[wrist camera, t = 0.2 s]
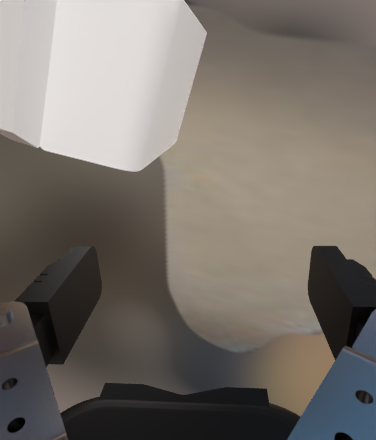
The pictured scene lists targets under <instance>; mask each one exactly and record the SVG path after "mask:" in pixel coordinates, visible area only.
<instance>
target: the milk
mask: <svg viewBox="0 0 376 440" xmlns="http://www.w3.org/2000/svg"><path fill="white" fill-rule="evenodd" d="M206 34H207V32H206V31H205V29H204V28H203V27H202V25H201V24H200V22H199V21H198V19H197V18H196V17H195V15H194V14H193V12H192V11H191V9H190V8H189V7H188V5H187V4H186V2H185V1H184V0H0V134H1V135H3V136H5V137H7V138H9V139H11V140H13V141H17V142H20V143H23V144H26V145H29V146H32V147H36V148H39V147H41V148H42V149H43V150H45V151H49V152H53V153H56V154H60V155H64V156H68V157H72V158H76V159H81V160H85V161H88V162H93V163H96V164H100V165H104V166H108V167H112V168H116V169H121V170H126V171H140V170H142V169H143V168H144V167H146V166H147V165H148V164H149V163H151V162H152V161H153V160H155V159H156V158H157V157H158V156H160V155H161V154H162V153H164V152H165V151H166V150H167V149H169V148H170V147H171V146H173V145H174V144H175V143H176V141H177V137H178V134H179V130H180V127H181V123H182V120H183V116H184V113H185V109H186V105H187V102H188V98H189V95H190V91H191V88H192V84H193V81H194V77H195V73H196V70H197V66H198V63H199V59H200V56H201V52H202V49H203V45H204V42H205V38H206Z"/></svg>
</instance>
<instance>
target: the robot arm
mask: <svg viewBox="0 0 376 440" xmlns="http://www.w3.org/2000/svg"><path fill="white" fill-rule="evenodd" d="M101 289H102V282H101V276H100V270H99V264H98V257H97V252H96V249H95V247H93V246H74V247H72V248H71V249H70V250H69V252H68V253H67V254H66V255H65V256H64V257H63V258H62V259H59V260H57V261H55V262H53V263H52V264H50V265H48V266H47V267H46V268H45V269H44V270H43V271H42V272H41V274H40V276H38V277H37V278H36V279H35V280H34V282H32V283H31V284H30V285H29V286H28V287H27V288H26V290H25V291H24V292H23V293H22V294H21V295H20V296H19V297H18V298H17V299H16V300H15V301H14V302H6V303H2V304H0V440H376V280H375V279H374V278H372V275H371V274H370V272H369V271H368V270H367V269H366V268H365V267H364V266H362V265H361V264H359V263H358V262H356V261H354V260H347V259H346V258H345V257H344V255H343V254H342V253H341V251H340V250H339V249H338V247H337V246H314V247H313V248H312V252H311V261H310V270H309V280H308V295H309V299H310V302H311V305H312V307H313V309H314V312H315V314H316V316H317V319H318V321H319V323H320V326H321V328H322V330H323V333H324V335H325V337H326V339H327V342H328V344H329V347H330V349H331V351H332V354H333V356H334V358H335V362H334V364H333V365H332V367H331V368H330V370H329V372H328V373H327V375H326V377H325V379H324V380H323V382H322V383H321V385H320V386H319V388H318V390H317V391H316V393H315V395H314V396H313V398H312V399H311V401H310V403H309V405H308V406H307V408H306V409H305V411H304V413H303V414H302V416H301V417H300V416H298V415H297V414H295V413H293V412H291V411H289V410H287V409H285V408H283V407H280V406H277V405H274V404H271V403H269V400H268V395H267V394H268V393H267V389H259V388H230V387H225V388H219V389H214V390H209V391H204V392H198V393H193V394H188V395H180V394H176V393H173V392H169V391H165V390H162V389H158V388H155V387H151V386H148V385H144V384H119V383H118V384H117V383H105V385H104V387H103V390H102V393H101V395H100V397H96V398H92V399H89V400H86V401H83V402H81V403H78V404H76V405H74V406H72V407H70V408H68V409H67V410H65V411H63V412H62V413H60V411H59V408H58V404H57V402H56V398H55V395H54V392H53V388H52V385H51V382H50V378H49V375H48V372H47V369H46V367H47V365H48V364H64V362H65V360H66V358H67V356H68V355H69V353H70V350H71V349H72V347H73V346H74V344H75V342H76V340H77V338H78V336H79V335H80V333H81V331H82V329H83V327H84V326H85V324H86V322H87V320H88V318H89V316H90V315H91V313H92V311H93V309H94V307H95V306H96V304H97V302H98V300H99V298H100V295H101Z"/></svg>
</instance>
